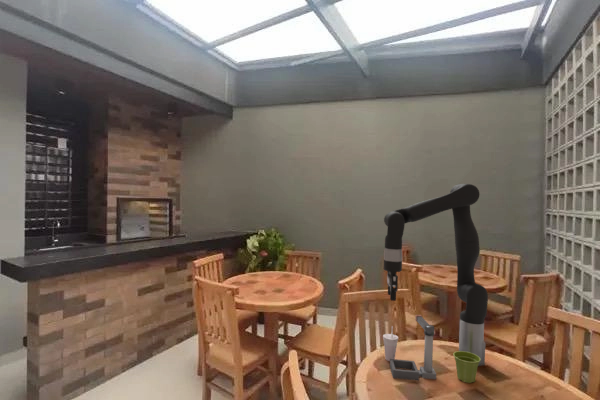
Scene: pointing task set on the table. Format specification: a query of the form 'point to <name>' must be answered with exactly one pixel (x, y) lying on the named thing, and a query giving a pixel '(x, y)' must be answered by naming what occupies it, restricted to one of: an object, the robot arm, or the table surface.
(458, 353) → the plant pot
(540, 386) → the table surface
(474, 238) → the robot arm
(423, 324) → the joystick lever
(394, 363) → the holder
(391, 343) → the smoothie
